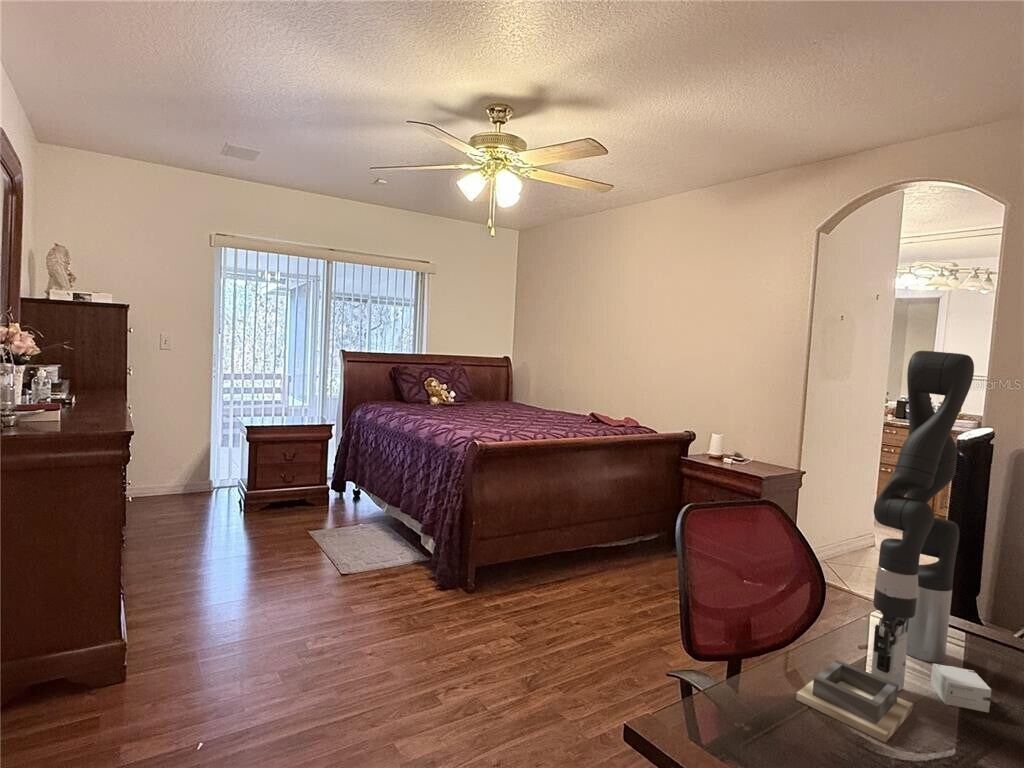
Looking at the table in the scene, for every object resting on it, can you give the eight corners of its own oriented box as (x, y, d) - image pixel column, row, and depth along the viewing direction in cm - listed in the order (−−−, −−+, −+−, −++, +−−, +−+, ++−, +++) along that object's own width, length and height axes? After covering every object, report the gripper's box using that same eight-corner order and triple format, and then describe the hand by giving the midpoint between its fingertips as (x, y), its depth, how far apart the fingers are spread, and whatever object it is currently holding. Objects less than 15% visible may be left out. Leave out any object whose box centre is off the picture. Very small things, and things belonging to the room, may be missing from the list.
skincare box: (891, 696, 121) (896, 640, 120) (868, 685, 125) (873, 630, 124) (904, 687, 124) (910, 633, 123) (882, 677, 128) (887, 624, 127)
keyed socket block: (827, 674, 129) (829, 652, 128) (912, 710, 116) (914, 686, 116) (796, 699, 118) (798, 676, 118) (885, 742, 106) (887, 716, 106)
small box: (944, 705, 119) (947, 681, 119) (929, 684, 127) (931, 662, 127) (990, 714, 117) (992, 689, 117) (971, 692, 125) (974, 669, 124)
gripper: (887, 576, 131) (880, 648, 132) (863, 591, 121) (856, 668, 122) (926, 588, 125) (919, 662, 126) (905, 604, 116) (897, 685, 117)
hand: (888, 665), depth 124 cm, fingers closed on skincare box, 6 cm apart
